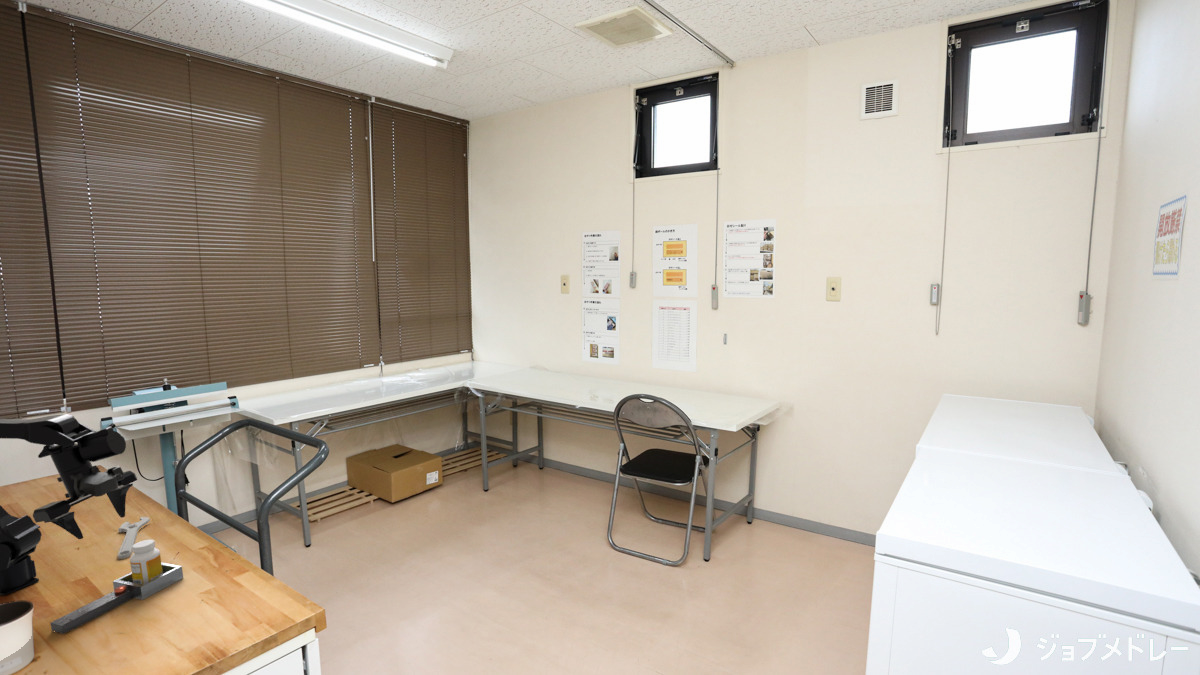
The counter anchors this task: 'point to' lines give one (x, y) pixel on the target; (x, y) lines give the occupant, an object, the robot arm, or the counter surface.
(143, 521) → the adjustable wrench
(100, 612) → the grey rectangular scoop
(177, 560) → the counter surface
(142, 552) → the supplement bottle
